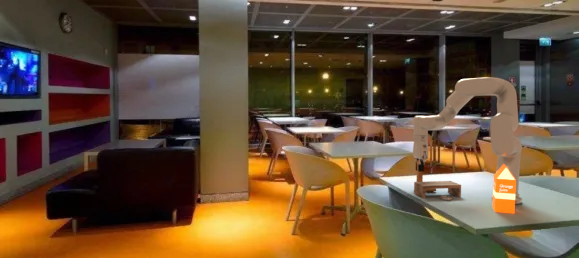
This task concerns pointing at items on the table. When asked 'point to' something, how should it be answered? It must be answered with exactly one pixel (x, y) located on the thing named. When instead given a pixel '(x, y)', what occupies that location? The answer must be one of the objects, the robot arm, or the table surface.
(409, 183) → the table surface
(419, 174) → the brown l-shaped piece
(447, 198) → the token
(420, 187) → the wooden shelf stand
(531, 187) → the table surface
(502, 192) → the orange juice
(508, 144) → the robot arm
